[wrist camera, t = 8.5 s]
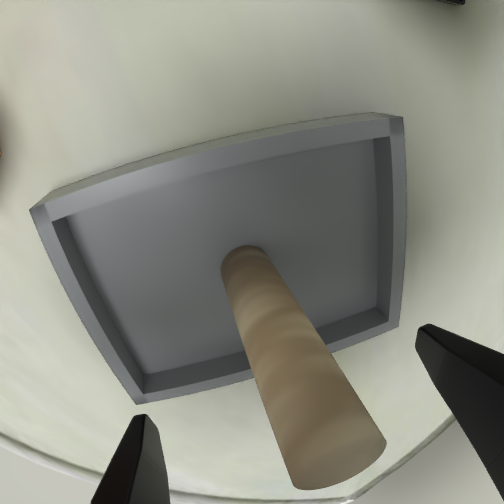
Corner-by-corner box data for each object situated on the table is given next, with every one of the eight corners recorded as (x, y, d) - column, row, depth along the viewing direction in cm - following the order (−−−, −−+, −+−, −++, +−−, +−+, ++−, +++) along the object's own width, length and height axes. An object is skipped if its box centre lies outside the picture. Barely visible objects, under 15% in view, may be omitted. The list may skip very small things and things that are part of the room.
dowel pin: (265, 239, 15) (392, 421, 6) (273, 283, 16) (380, 464, 7) (215, 253, 15) (286, 464, 5) (227, 296, 16) (297, 498, 7)
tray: (373, 112, 14) (402, 116, 12) (378, 304, 20) (398, 326, 18) (49, 192, 13) (28, 209, 11) (137, 374, 18) (136, 404, 16)
